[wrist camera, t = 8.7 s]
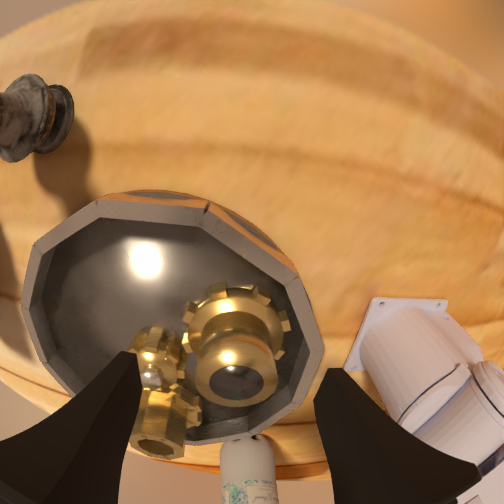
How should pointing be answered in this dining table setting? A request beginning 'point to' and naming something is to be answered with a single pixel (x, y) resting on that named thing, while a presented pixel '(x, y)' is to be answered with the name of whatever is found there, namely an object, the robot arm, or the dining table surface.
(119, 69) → the dining table surface
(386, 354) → the robot arm
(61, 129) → the grey chess piece
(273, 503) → the bottle
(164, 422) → the planet gear
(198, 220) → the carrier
